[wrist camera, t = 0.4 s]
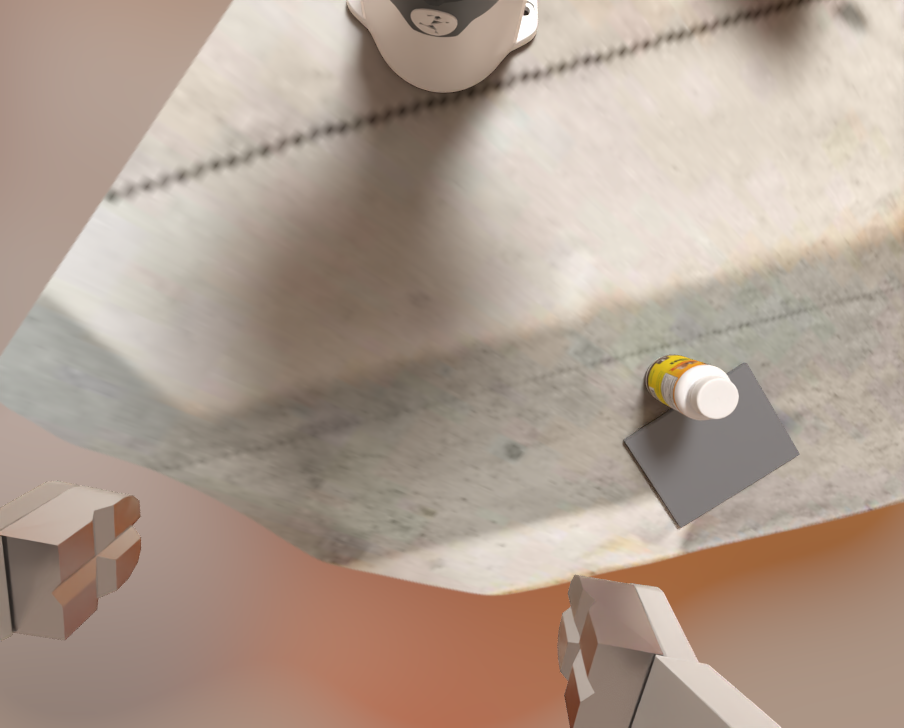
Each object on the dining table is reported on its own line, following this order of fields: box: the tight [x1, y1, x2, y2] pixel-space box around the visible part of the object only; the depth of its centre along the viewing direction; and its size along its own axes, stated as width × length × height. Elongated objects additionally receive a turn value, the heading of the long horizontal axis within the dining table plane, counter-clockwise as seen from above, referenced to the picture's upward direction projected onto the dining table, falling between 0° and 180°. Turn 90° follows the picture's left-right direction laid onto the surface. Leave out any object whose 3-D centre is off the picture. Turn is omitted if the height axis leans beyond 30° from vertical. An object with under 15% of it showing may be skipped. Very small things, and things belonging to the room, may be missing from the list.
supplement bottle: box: [646, 354, 739, 420], centre depth 50 cm, size 6×6×10 cm
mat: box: [624, 363, 799, 527], centre depth 56 cm, size 13×16×1 cm
